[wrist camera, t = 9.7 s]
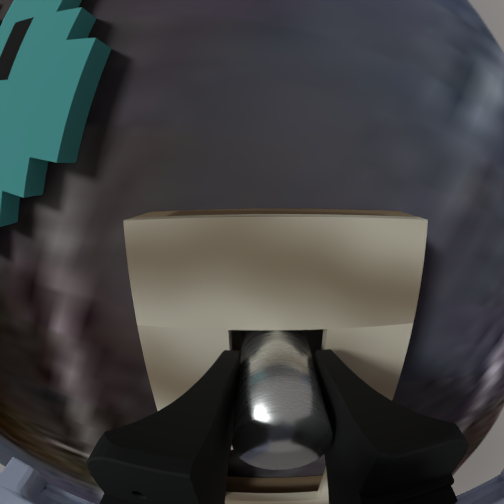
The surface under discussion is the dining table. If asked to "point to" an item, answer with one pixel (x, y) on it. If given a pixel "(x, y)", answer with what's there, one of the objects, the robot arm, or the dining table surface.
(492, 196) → the dining table surface
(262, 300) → the keyhole plate
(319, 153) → the dining table surface
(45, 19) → the alien figure
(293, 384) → the peg
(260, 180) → the dining table surface
